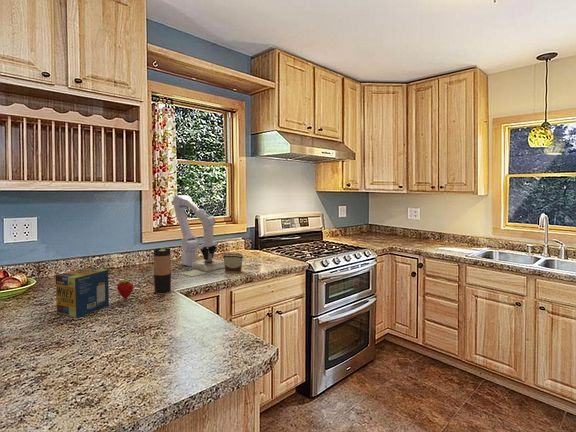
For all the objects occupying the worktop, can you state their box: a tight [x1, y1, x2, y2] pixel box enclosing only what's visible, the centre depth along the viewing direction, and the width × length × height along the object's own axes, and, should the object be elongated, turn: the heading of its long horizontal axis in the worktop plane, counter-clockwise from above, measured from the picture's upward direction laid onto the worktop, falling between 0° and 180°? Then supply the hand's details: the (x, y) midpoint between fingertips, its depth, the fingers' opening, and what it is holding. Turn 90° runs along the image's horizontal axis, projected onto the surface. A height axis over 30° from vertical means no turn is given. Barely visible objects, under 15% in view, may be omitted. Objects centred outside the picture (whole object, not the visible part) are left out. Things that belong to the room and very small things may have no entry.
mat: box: [180, 269, 207, 278], centre depth 200 cm, size 10×10×1 cm
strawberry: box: [116, 278, 134, 300], centre depth 154 cm, size 6×8×10 cm
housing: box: [191, 258, 225, 273], centre depth 215 cm, size 14×14×4 cm
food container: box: [222, 252, 245, 273], centre depth 208 cm, size 12×6×10 cm, turn 83°
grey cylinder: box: [205, 252, 213, 263], centre depth 215 cm, size 4×4×8 cm
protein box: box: [55, 266, 110, 319], centre depth 140 cm, size 10×15×16 cm
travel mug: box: [153, 247, 172, 294], centre depth 166 cm, size 8×8×20 cm
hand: (208, 258), depth 214 cm, fingers closed on grey cylinder, 4 cm apart
